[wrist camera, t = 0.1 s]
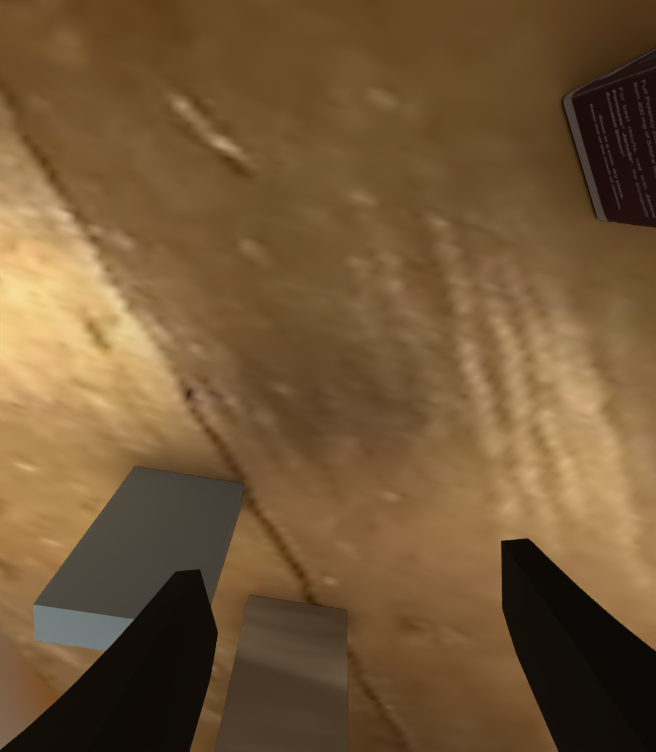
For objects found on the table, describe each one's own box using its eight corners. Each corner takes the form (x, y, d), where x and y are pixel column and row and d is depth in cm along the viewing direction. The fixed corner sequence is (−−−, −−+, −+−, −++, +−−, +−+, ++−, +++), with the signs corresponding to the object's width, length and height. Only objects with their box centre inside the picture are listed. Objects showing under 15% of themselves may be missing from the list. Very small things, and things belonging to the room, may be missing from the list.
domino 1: (240, 510, 23) (193, 663, 16) (133, 493, 23) (35, 640, 16) (243, 483, 23) (196, 628, 15) (134, 466, 23) (32, 604, 15)
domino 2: (341, 631, 26) (341, 812, 18) (245, 617, 26) (206, 793, 18) (346, 609, 25) (349, 786, 18) (249, 594, 25) (210, 767, 18)
